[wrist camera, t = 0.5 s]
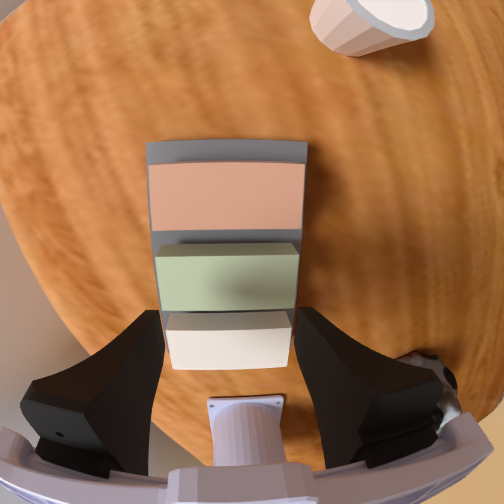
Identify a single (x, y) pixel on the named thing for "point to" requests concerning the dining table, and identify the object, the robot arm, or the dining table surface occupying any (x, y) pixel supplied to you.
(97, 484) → the robot arm
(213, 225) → the terracotta button
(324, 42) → the shot glass
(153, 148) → the button panel
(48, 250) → the dining table surface
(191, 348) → the off-white button
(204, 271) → the sage button
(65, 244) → the dining table surface
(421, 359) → the lucky cat figurine
